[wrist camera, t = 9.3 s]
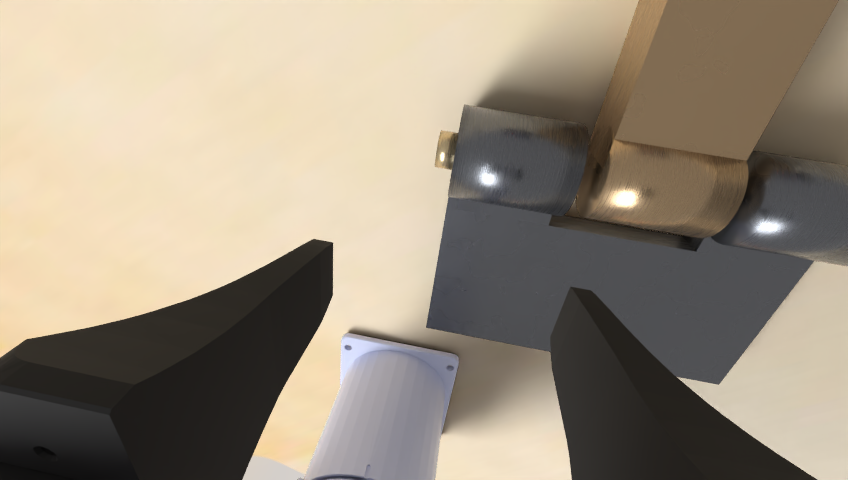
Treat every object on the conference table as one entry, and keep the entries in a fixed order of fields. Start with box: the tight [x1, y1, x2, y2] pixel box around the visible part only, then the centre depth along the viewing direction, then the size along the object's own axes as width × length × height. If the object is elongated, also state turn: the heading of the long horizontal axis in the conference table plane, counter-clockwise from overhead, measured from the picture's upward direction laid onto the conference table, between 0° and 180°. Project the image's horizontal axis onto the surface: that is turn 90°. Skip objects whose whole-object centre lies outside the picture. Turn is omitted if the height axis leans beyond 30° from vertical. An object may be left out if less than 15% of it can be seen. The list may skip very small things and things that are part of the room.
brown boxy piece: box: [576, 0, 839, 238], centre depth 15 cm, size 10×5×4 cm, turn 173°
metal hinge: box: [426, 105, 848, 385], centre depth 19 cm, size 13×19×4 cm
